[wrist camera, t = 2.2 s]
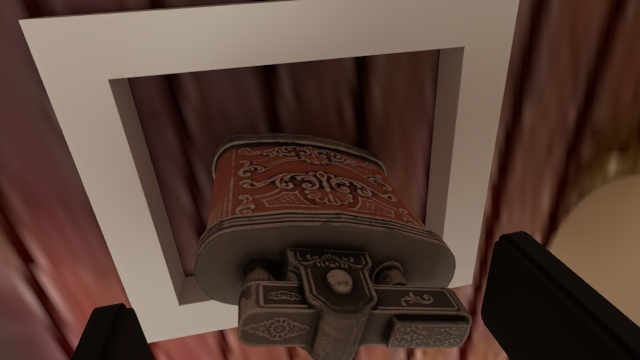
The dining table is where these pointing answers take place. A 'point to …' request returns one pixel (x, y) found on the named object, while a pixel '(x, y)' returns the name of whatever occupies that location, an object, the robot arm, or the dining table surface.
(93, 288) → the dining table surface
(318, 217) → the lighter
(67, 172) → the dining table surface
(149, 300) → the picture frame
